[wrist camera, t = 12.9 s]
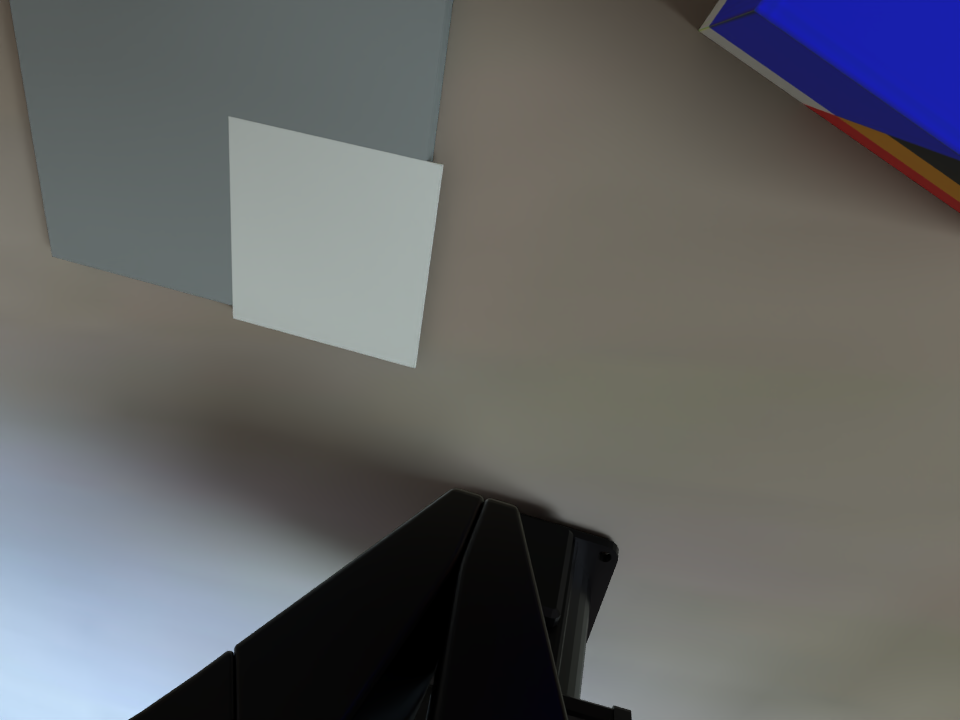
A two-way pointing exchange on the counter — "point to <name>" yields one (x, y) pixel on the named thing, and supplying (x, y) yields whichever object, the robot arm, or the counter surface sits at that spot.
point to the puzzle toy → (863, 72)
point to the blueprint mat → (246, 153)
